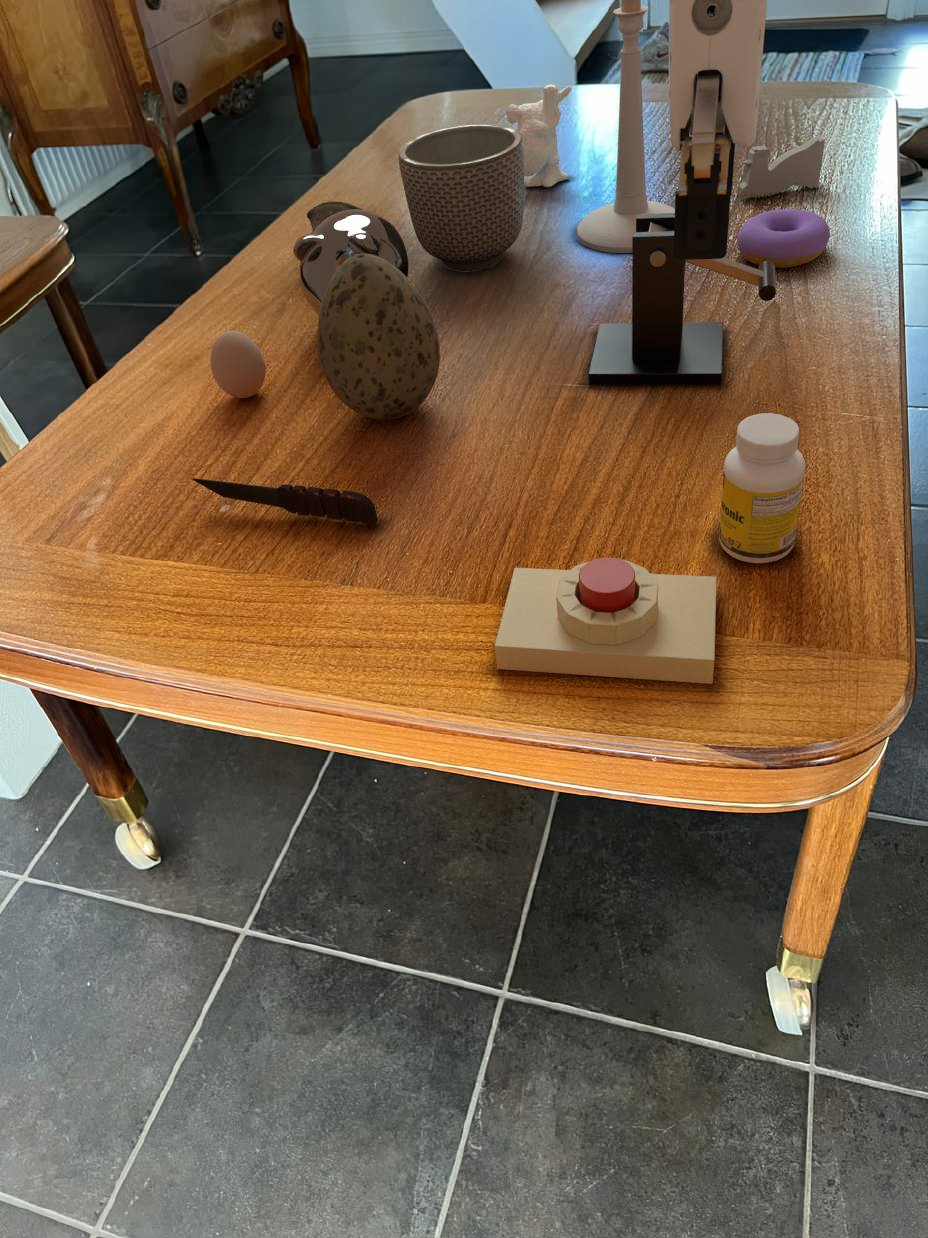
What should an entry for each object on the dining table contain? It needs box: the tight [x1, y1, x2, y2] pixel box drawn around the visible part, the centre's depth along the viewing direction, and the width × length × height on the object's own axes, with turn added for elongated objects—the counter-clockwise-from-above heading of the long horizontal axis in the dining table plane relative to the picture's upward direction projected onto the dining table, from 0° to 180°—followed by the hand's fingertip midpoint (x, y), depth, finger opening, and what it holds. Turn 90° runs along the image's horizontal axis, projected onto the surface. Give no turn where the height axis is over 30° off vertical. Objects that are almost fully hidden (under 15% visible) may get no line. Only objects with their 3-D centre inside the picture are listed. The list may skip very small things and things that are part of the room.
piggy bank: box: [292, 208, 409, 316], centre depth 100 cm, size 11×15×12 cm
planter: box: [398, 123, 525, 273], centre depth 109 cm, size 14×14×13 cm
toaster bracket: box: [588, 213, 724, 386], centre depth 87 cm, size 12×10×13 cm
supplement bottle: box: [718, 412, 806, 564], centre depth 67 cm, size 5×5×10 cm
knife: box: [191, 477, 379, 529], centre depth 79 cm, size 17×1×3 cm, turn 71°
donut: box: [736, 208, 831, 269], centre depth 104 cm, size 10×9×5 cm
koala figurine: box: [506, 83, 573, 188], centre depth 125 cm, size 8×7×12 cm
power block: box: [494, 559, 718, 685], centre depth 64 cm, size 14×8×4 cm, turn 78°
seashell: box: [306, 201, 363, 231], centre depth 116 cm, size 16×9×7 cm, turn 176°
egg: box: [210, 330, 267, 399], centre depth 93 cm, size 5×5×7 cm
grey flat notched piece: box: [738, 136, 826, 198], centre depth 115 cm, size 6×1×10 cm
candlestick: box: [576, 0, 675, 254], centre depth 104 cm, size 13×13×30 cm
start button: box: [579, 556, 635, 613], centre depth 62 cm, size 4×4×2 cm
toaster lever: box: [647, 223, 777, 302], centre depth 84 cm, size 12×5×2 cm, turn 78°
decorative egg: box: [316, 253, 441, 421], centre depth 85 cm, size 11×11×15 cm
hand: (703, 226), depth 63 cm, fingers open, 9 cm apart
